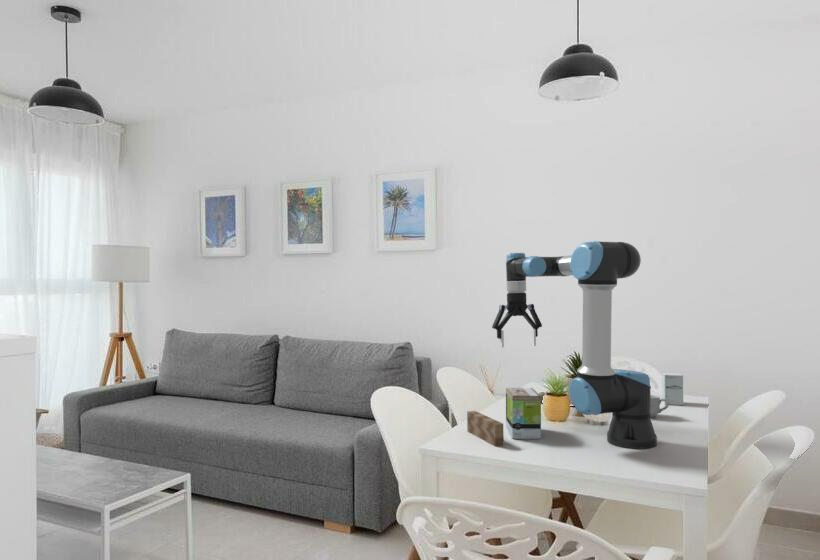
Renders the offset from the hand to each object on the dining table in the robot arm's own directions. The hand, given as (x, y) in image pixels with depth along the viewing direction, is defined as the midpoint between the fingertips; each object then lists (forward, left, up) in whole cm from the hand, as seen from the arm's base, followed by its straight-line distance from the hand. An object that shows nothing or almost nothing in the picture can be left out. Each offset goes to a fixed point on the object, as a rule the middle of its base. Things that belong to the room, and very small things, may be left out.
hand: (517, 346), depth 224 cm
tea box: (-24, +13, -27) cm, 38 cm away
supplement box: (-9, -69, -27) cm, 75 cm away
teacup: (-23, -43, -27) cm, 56 cm away
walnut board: (-24, +28, -27) cm, 45 cm away
